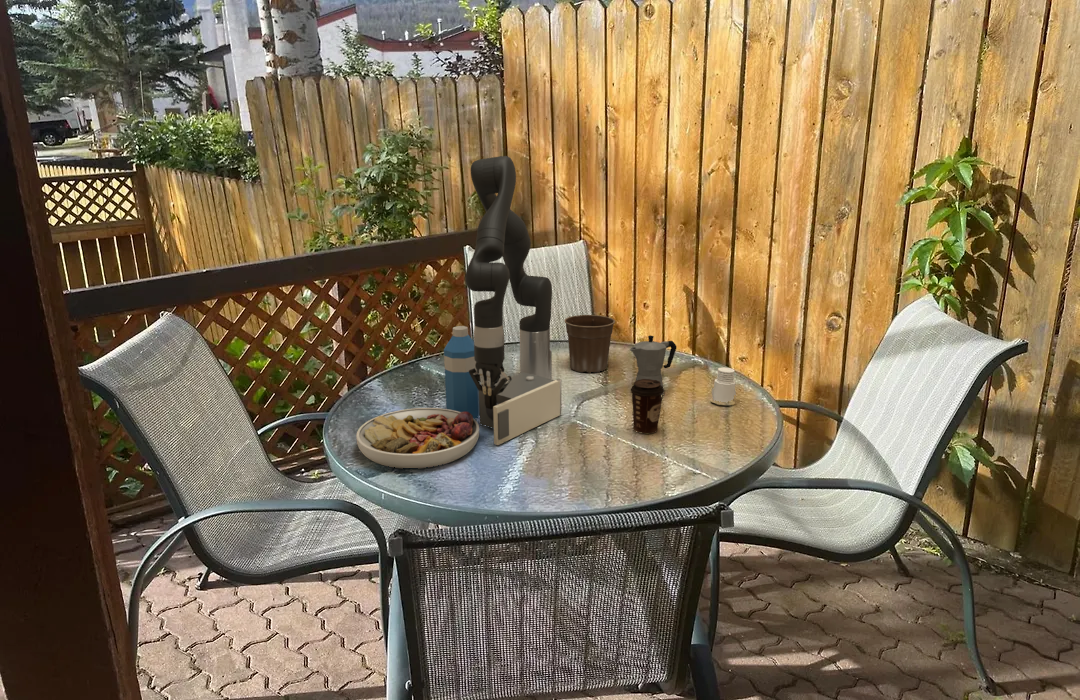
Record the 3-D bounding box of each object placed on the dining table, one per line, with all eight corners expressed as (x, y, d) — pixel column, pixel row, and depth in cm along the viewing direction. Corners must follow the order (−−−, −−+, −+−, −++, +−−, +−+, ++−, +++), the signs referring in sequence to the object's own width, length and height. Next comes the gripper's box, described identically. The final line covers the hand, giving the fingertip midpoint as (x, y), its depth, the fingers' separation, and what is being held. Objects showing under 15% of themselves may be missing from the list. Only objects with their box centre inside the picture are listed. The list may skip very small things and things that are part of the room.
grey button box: (522, 405, 218) (522, 369, 215) (556, 414, 211) (556, 377, 208) (476, 425, 204) (475, 387, 201) (510, 436, 197) (510, 397, 194)
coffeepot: (637, 402, 220) (639, 342, 215) (621, 392, 228) (622, 334, 223) (682, 395, 226) (685, 336, 221) (665, 385, 234) (668, 328, 229)
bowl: (371, 484, 172) (369, 452, 170) (347, 436, 198) (345, 407, 196) (496, 460, 184) (496, 430, 181) (458, 418, 210) (457, 391, 208)
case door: (558, 412, 211) (558, 378, 208) (563, 414, 210) (563, 380, 207) (493, 443, 191) (492, 406, 188) (499, 445, 190) (498, 408, 187)
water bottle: (486, 412, 213) (484, 325, 206) (469, 424, 205) (466, 334, 198) (457, 407, 217) (454, 322, 210) (439, 418, 209) (435, 330, 202)
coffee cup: (665, 426, 203) (667, 379, 199) (659, 437, 195) (661, 389, 192) (633, 422, 206) (634, 376, 202) (626, 433, 198) (627, 386, 194)
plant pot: (588, 357, 262) (589, 311, 257) (624, 368, 251) (625, 320, 246) (554, 367, 252) (554, 319, 247) (589, 379, 240) (590, 329, 236)
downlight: (718, 408, 215) (722, 374, 212) (703, 400, 221) (707, 367, 218) (741, 405, 218) (745, 372, 215) (726, 397, 224) (729, 365, 222)
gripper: (519, 343, 189) (520, 409, 194) (479, 334, 197) (481, 398, 201) (499, 350, 183) (500, 418, 188) (459, 341, 191) (461, 406, 196)
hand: (490, 407), depth 195 cm, fingers closed
